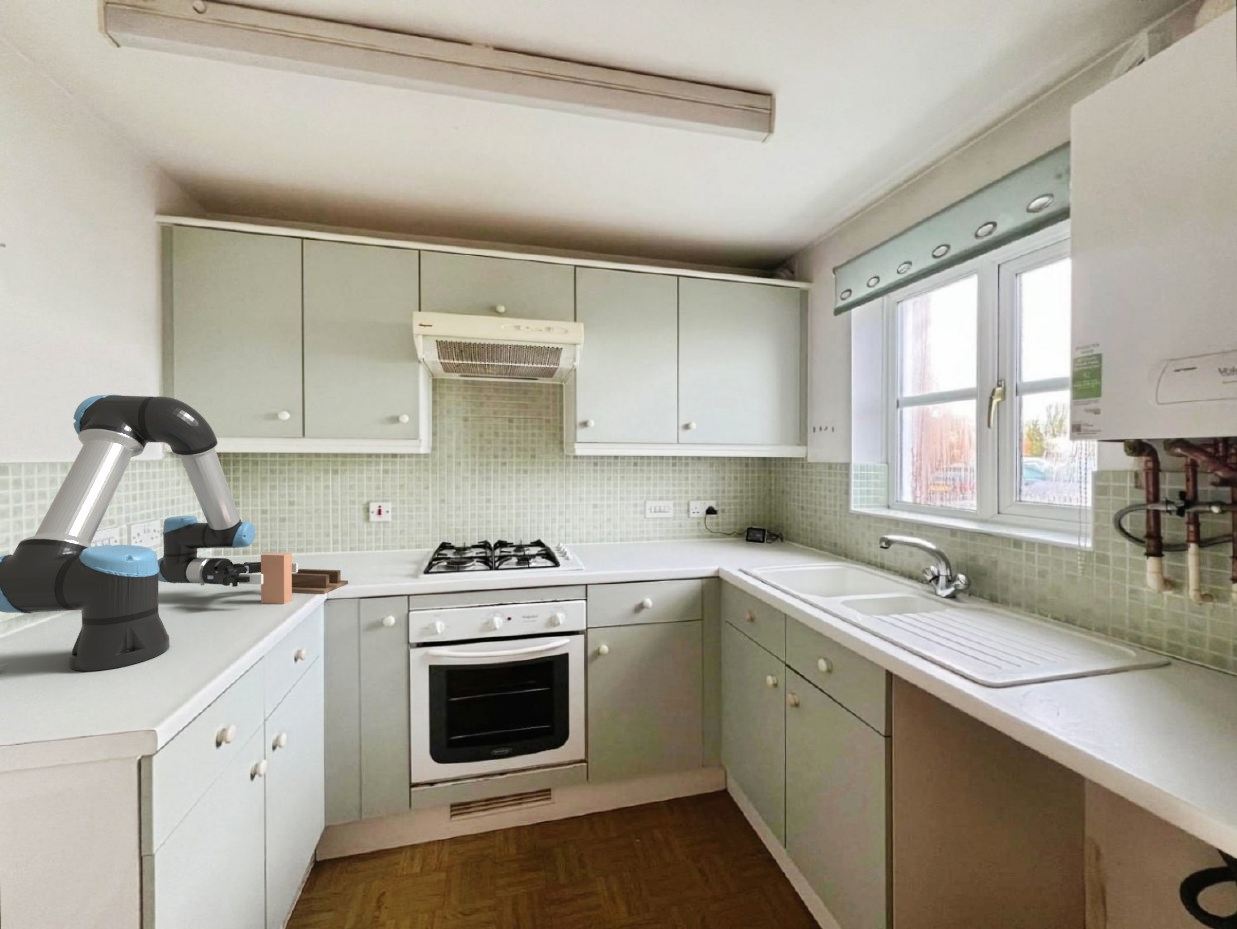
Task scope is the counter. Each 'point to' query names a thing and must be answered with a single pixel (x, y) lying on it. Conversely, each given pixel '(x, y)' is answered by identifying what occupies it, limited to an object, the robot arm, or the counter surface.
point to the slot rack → (316, 581)
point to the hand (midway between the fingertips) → (280, 573)
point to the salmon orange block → (276, 578)
